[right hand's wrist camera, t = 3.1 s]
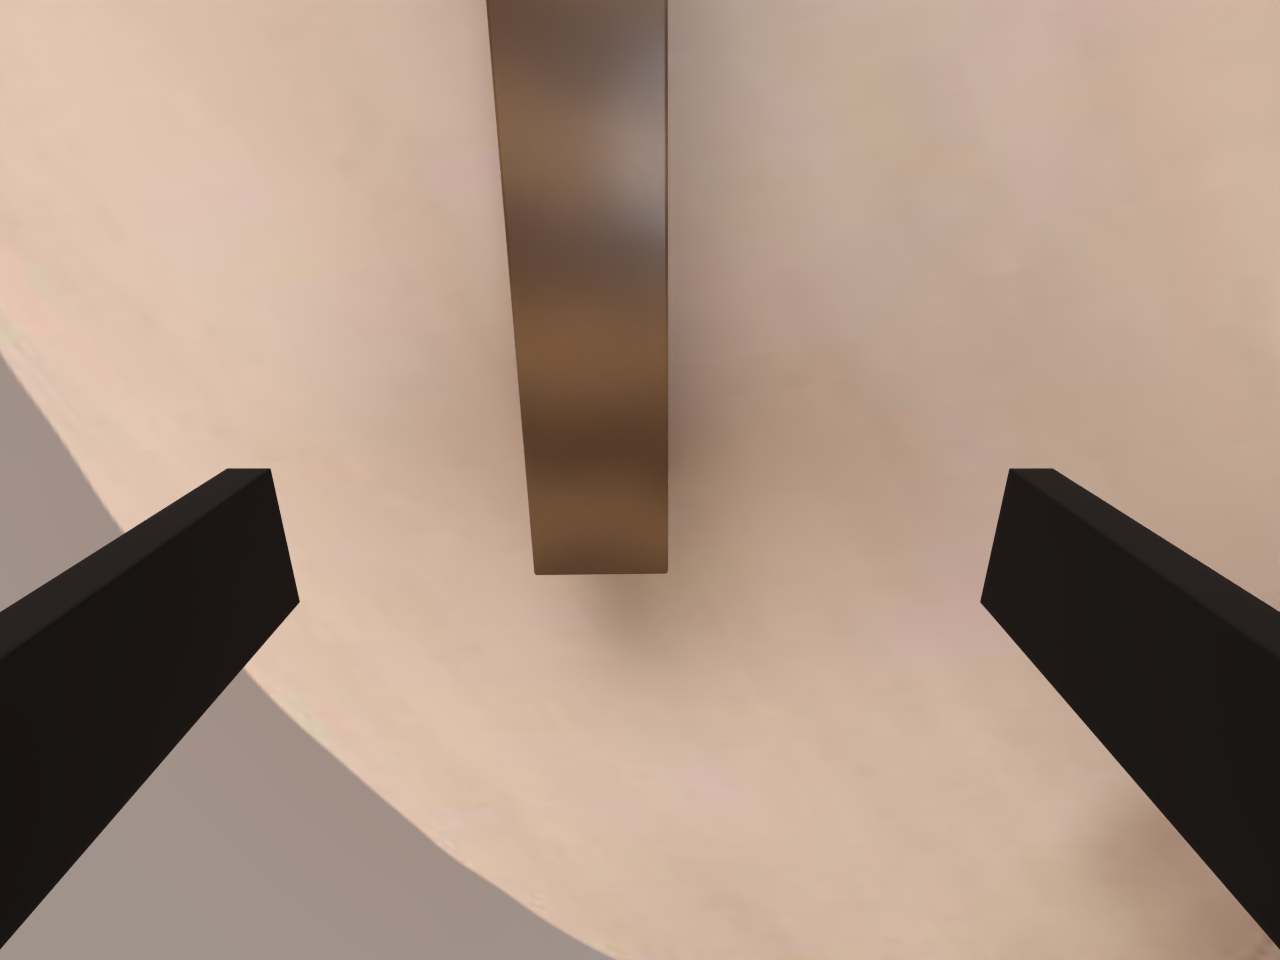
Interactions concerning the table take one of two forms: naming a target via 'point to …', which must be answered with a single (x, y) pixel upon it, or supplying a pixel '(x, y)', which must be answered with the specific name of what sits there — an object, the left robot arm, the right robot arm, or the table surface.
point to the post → (588, 272)
